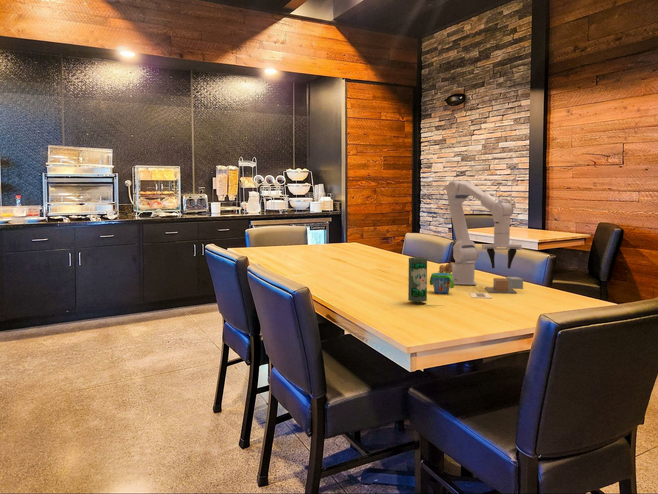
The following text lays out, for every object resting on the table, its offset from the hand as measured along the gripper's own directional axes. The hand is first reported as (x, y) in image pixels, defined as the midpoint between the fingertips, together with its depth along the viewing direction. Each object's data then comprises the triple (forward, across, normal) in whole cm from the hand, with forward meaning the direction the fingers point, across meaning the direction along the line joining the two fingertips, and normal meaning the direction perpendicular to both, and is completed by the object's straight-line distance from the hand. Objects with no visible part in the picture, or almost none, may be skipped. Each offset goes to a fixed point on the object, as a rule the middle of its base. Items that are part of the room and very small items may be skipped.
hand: (501, 268), depth 193 cm
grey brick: (+9, +7, +11) cm, 16 cm away
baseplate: (+9, 0, 0) cm, 9 cm away
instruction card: (+9, -9, -12) cm, 17 cm away
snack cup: (+9, -23, -8) cm, 26 cm away
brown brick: (+8, 0, 0) cm, 8 cm away
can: (+9, -32, -25) cm, 42 cm away
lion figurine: (+9, -19, +39) cm, 45 cm away
